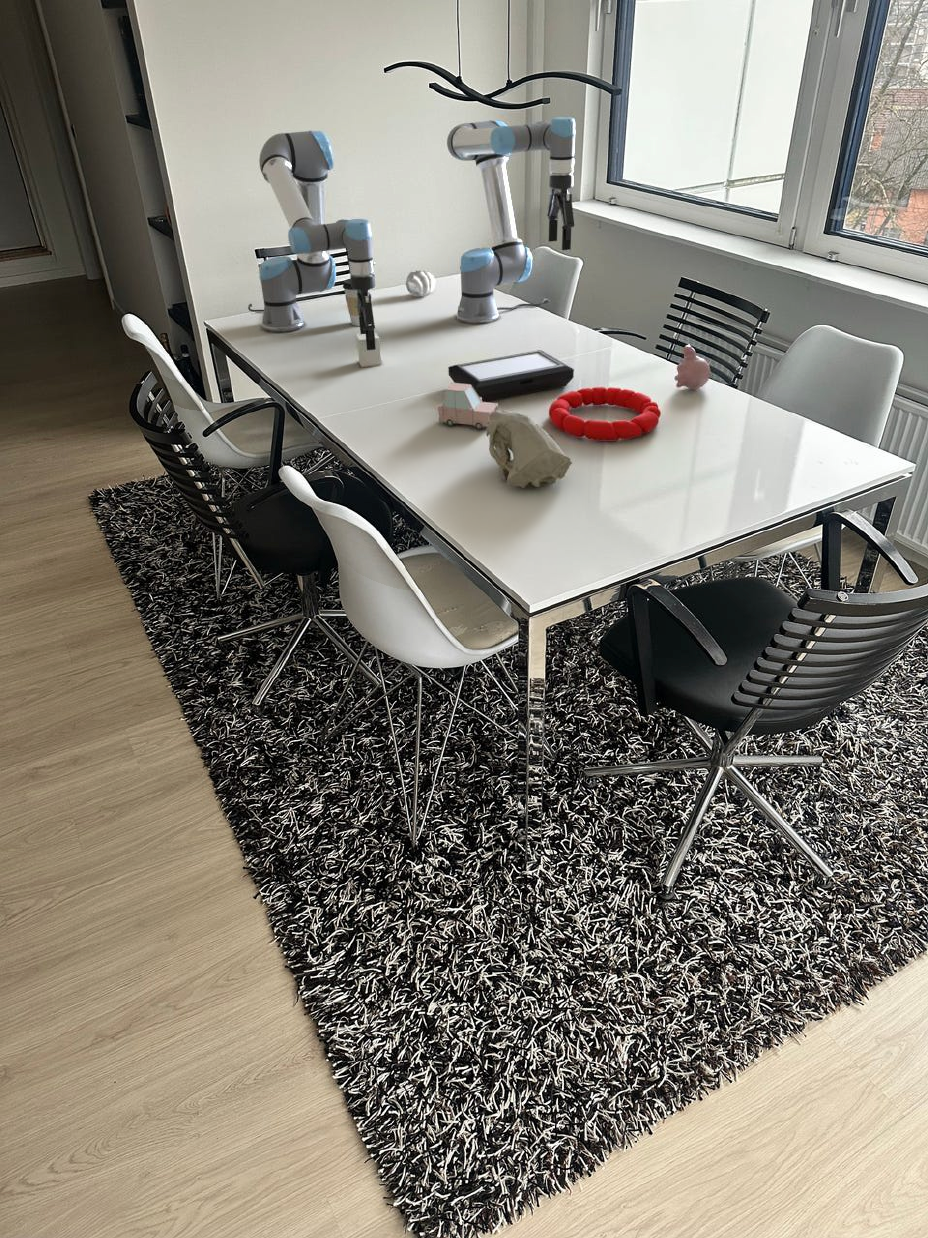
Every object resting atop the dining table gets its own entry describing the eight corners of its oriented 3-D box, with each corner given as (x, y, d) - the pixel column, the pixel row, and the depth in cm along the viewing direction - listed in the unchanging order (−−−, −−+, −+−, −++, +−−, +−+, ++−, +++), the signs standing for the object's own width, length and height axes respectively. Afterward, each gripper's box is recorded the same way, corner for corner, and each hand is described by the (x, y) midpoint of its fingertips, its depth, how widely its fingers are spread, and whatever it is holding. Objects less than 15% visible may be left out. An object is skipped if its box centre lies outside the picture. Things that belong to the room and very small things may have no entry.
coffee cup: (372, 326, 323) (368, 283, 314) (345, 327, 323) (340, 284, 315) (374, 318, 331) (371, 276, 322) (348, 319, 331) (344, 277, 323)
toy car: (488, 432, 240) (488, 396, 234) (436, 426, 244) (434, 390, 239) (499, 419, 247) (499, 384, 241) (448, 413, 252) (447, 379, 246)
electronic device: (476, 384, 253) (448, 364, 268) (476, 405, 256) (449, 384, 271) (574, 366, 263) (541, 347, 278) (573, 386, 266) (541, 367, 281)
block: (361, 366, 287) (358, 339, 282) (358, 361, 292) (356, 334, 287) (381, 364, 289) (379, 337, 284) (378, 359, 293) (376, 332, 288)
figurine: (665, 387, 264) (669, 347, 257) (693, 380, 268) (698, 340, 261) (686, 396, 257) (690, 355, 250) (714, 388, 262) (720, 348, 255)
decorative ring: (589, 435, 224) (684, 402, 234) (527, 398, 247) (617, 369, 256) (589, 461, 229) (683, 427, 238) (529, 422, 251) (617, 393, 260)
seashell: (399, 296, 356) (397, 270, 350) (432, 290, 362) (431, 264, 356) (410, 301, 348) (409, 275, 343) (444, 295, 354) (443, 269, 349)
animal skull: (496, 517, 219) (521, 479, 201) (463, 429, 225) (484, 384, 207) (557, 503, 225) (586, 465, 206) (523, 417, 231) (549, 373, 212)
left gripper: (380, 283, 265) (386, 353, 277) (368, 263, 285) (373, 329, 297) (355, 285, 264) (362, 356, 276) (344, 265, 284) (351, 332, 296)
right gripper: (586, 178, 271) (583, 252, 283) (560, 167, 291) (558, 236, 303) (563, 180, 270) (560, 254, 282) (538, 168, 290) (536, 238, 302)
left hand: (368, 342), depth 287 cm, fingers open, 13 cm apart
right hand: (559, 245), depth 292 cm, fingers open, 13 cm apart
